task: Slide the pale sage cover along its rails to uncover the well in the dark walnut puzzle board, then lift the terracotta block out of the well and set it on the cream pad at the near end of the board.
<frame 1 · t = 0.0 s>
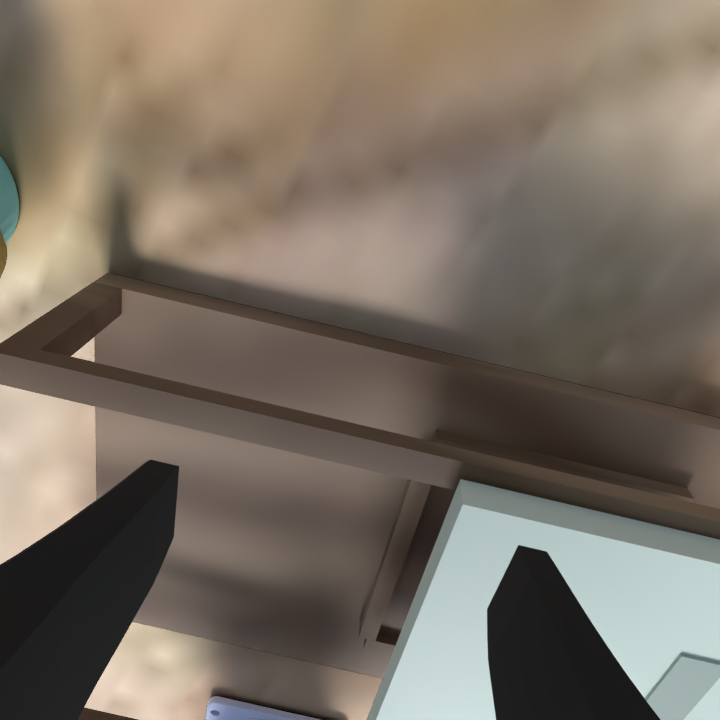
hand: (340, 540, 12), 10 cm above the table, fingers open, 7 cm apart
puzzle board: (438, 539, 25), on the table
slide cover: (531, 715, 19), point 7 cm above the table, slide at 0.0 cm
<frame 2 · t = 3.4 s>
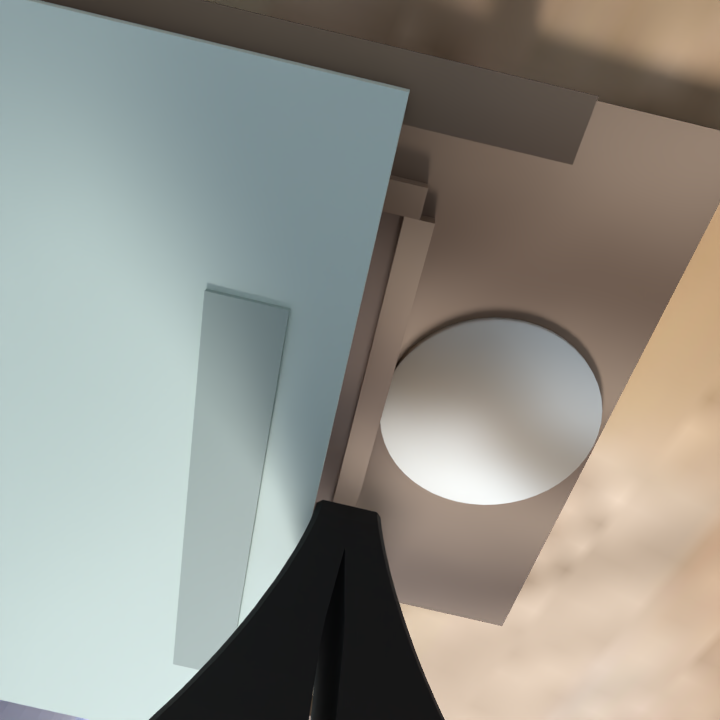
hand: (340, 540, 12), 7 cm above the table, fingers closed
puzzle board: (137, 318, 18), on the table
slide cover: (79, 471, 12), point 7 cm above the table, slide at 1.1 cm, touching gripper
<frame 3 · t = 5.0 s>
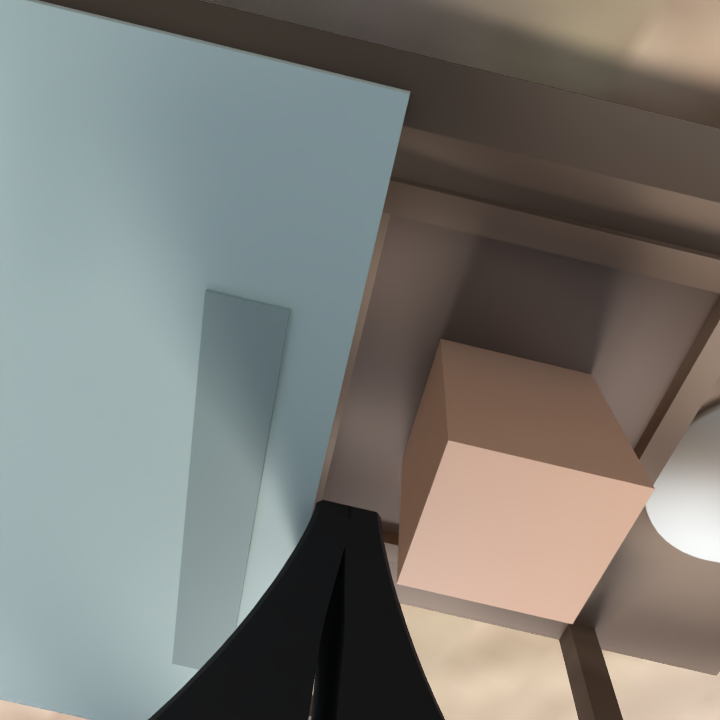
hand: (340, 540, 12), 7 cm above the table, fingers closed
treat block: (491, 419, 17), point 1 cm above the table, touching puzzle board
puzzle board: (397, 379, 18), on the table
slide cover: (79, 470, 12), point 7 cm above the table, slide at 9.7 cm, touching gripper
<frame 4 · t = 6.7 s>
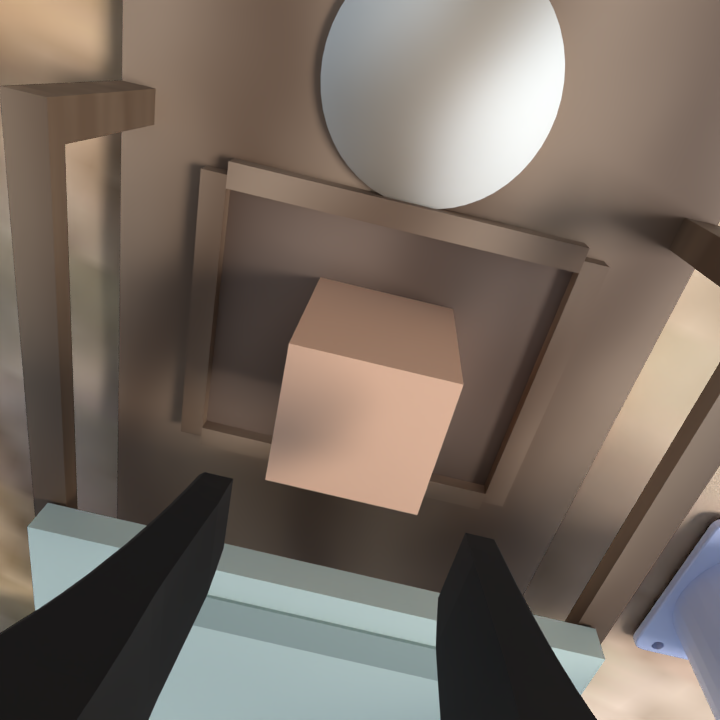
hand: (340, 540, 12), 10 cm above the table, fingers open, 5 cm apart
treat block: (371, 352, 20), point 1 cm above the table, touching puzzle board
puzzle board: (356, 406, 22), on the table
slide cover: (294, 681, 19), point 7 cm above the table, slide at 9.7 cm
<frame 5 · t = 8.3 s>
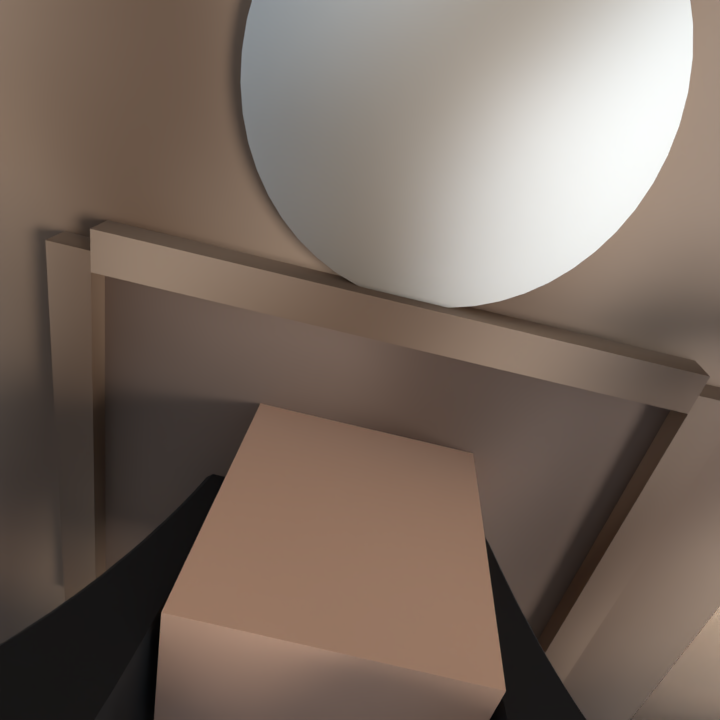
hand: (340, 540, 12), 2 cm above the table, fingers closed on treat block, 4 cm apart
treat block: (345, 508, 13), point 1 cm above the table, touching gripper, puzzle board
puzzle board: (327, 562, 15), on the table
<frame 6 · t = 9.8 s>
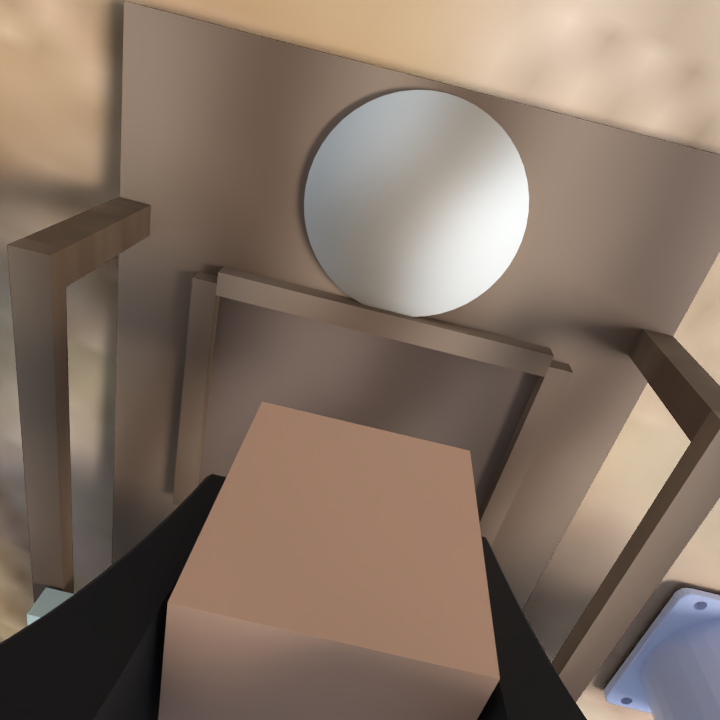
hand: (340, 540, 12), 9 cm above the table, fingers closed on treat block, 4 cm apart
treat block: (344, 504, 13), point 8 cm above the table, touching gripper
puzzle board: (340, 479, 23), on the table
when the fingers open (4 cm above the table, at t = 11.6 s): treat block drops 1 cm, resting on puzzle board.
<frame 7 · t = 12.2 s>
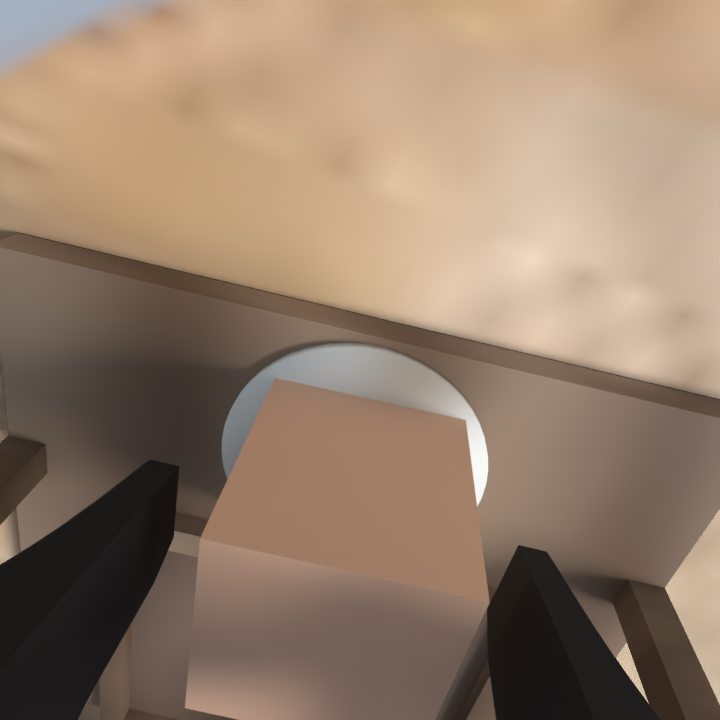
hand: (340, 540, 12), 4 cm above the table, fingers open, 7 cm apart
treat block: (352, 473, 14), point 1 cm above the table, touching puzzle board
puzzle board: (291, 687, 20), on the table
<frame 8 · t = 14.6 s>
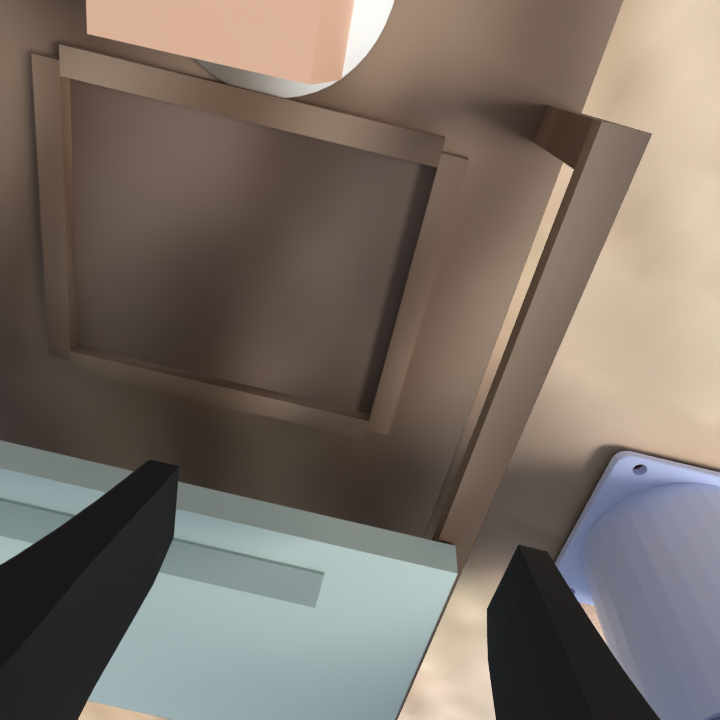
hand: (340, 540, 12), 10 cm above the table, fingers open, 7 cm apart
puzzle board: (237, 331, 21), on the table
slide cover: (150, 609, 18), point 7 cm above the table, slide at 9.7 cm
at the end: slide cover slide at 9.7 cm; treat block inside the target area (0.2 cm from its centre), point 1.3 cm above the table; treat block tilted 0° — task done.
